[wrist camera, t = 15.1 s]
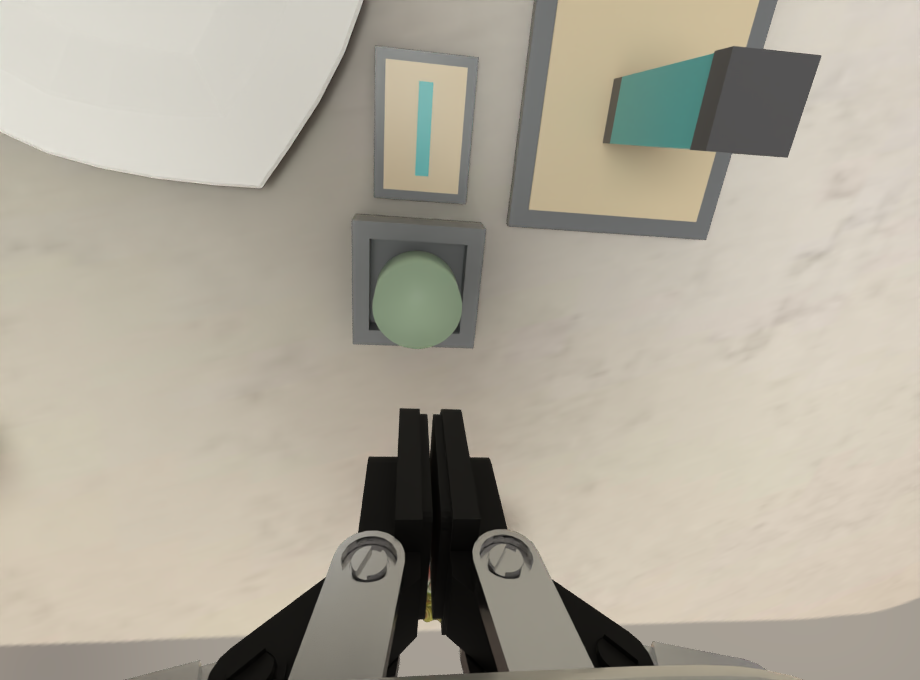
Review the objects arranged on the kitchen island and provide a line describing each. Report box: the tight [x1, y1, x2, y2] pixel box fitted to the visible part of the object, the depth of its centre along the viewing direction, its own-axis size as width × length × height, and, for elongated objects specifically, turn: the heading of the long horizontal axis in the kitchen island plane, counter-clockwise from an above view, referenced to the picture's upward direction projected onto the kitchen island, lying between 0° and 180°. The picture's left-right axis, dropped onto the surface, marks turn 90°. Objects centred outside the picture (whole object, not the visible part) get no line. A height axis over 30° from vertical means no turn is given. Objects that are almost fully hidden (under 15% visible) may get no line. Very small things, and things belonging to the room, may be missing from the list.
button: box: [372, 251, 462, 349], centre depth 24 cm, size 4×4×3 cm
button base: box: [352, 214, 486, 348], centre depth 27 cm, size 7×7×2 cm
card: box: [374, 46, 479, 204], centre depth 24 cm, size 7×5×1 cm
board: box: [507, 0, 777, 240], centre depth 23 cm, size 18×12×1 cm, turn 175°
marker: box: [603, 46, 821, 157], centre depth 20 cm, size 3×3×10 cm
